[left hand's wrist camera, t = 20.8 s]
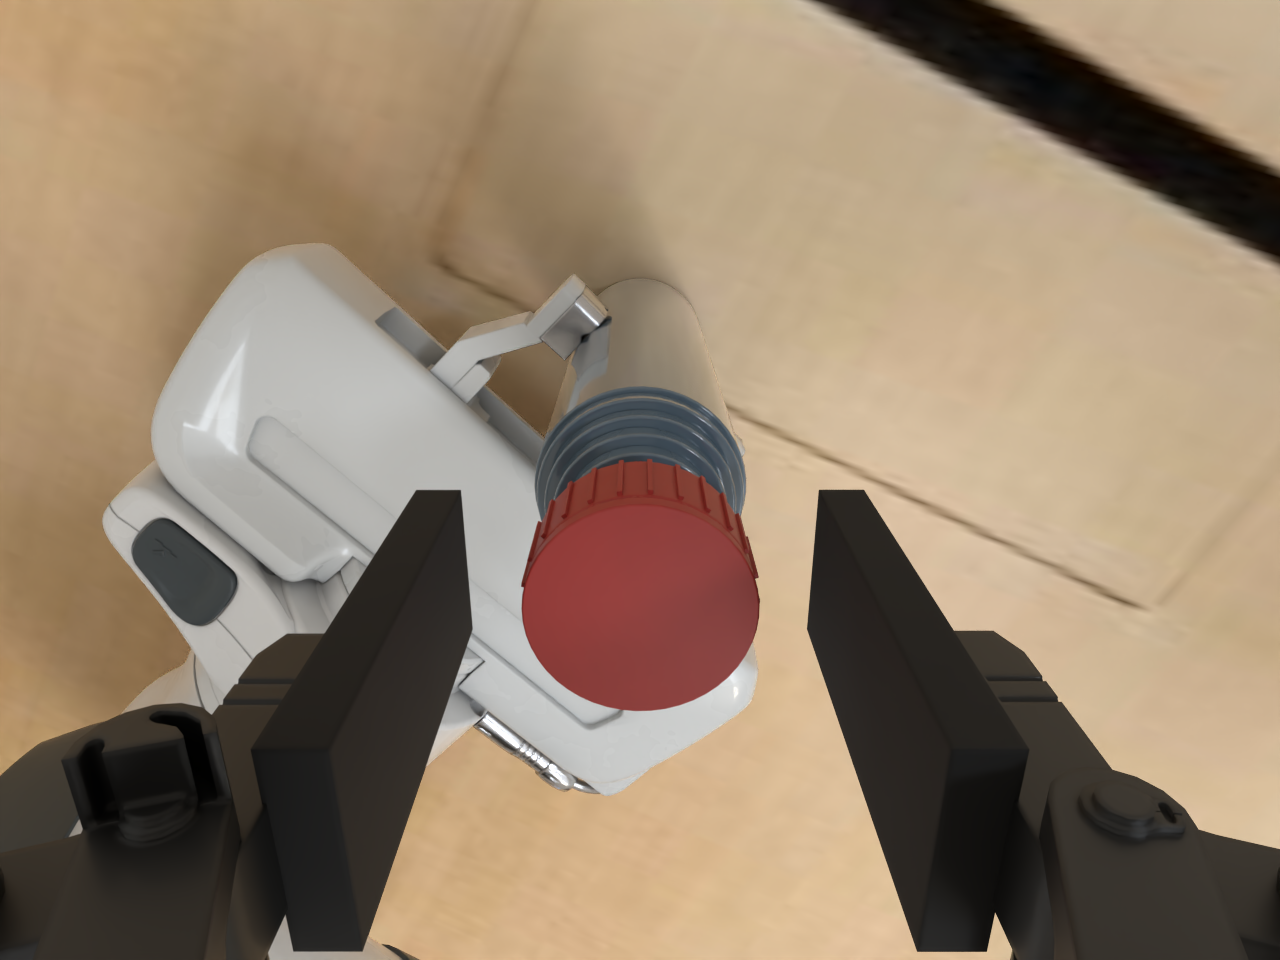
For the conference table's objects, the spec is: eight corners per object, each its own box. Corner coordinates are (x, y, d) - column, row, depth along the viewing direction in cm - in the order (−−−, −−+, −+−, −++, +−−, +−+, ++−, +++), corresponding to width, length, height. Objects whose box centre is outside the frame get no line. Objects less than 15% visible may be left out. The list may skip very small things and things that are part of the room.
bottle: (587, 404, 32) (526, 717, 15) (571, 284, 30) (480, 480, 13) (705, 391, 32) (784, 695, 14) (696, 271, 30) (771, 450, 13)
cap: (689, 417, 14) (695, 457, 12) (783, 598, 15) (803, 657, 13) (491, 515, 15) (471, 567, 13) (598, 680, 16) (592, 748, 14)
